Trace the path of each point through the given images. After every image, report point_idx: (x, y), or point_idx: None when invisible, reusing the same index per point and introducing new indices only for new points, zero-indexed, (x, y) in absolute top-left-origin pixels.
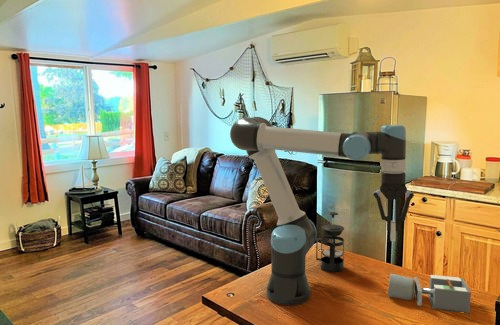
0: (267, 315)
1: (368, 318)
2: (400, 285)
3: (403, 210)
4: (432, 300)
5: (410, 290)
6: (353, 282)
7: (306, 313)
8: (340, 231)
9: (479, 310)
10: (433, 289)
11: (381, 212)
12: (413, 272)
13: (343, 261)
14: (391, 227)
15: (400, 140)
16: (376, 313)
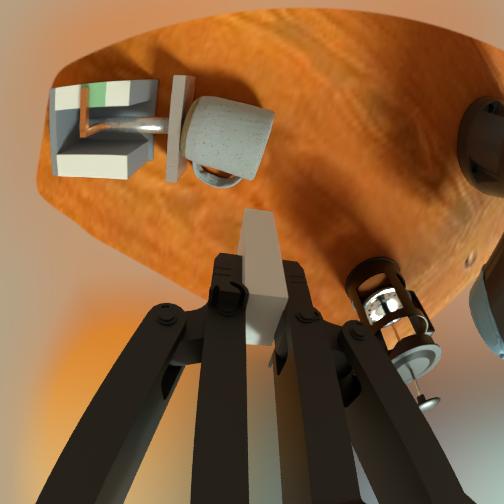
0: None
1: (345, 17)
2: (236, 108)
3: (145, 407)
4: None
5: (206, 98)
6: (345, 207)
7: (470, 61)
8: (398, 353)
9: None
10: (134, 124)
11: (391, 381)
12: (172, 276)
13: (355, 289)
14: (278, 268)
15: None
16: (320, 37)
